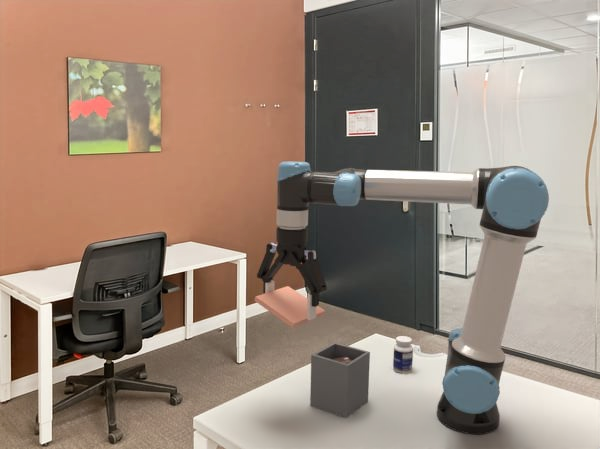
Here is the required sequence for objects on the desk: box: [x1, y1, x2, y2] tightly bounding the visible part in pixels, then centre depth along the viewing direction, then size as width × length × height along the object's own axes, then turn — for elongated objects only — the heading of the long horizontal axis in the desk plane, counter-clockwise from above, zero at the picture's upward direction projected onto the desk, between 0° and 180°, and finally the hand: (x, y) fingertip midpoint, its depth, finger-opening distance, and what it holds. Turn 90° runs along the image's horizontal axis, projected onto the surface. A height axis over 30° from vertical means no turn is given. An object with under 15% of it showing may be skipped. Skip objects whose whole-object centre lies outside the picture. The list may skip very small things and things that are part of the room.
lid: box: [253, 285, 326, 329], centre depth 138 cm, size 13×13×2 cm
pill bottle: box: [392, 335, 414, 374], centre depth 170 cm, size 6×6×10 cm
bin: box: [309, 342, 371, 419], centre depth 148 cm, size 11×11×14 cm
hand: (289, 312), depth 138 cm, fingers closed on lid, 12 cm apart
